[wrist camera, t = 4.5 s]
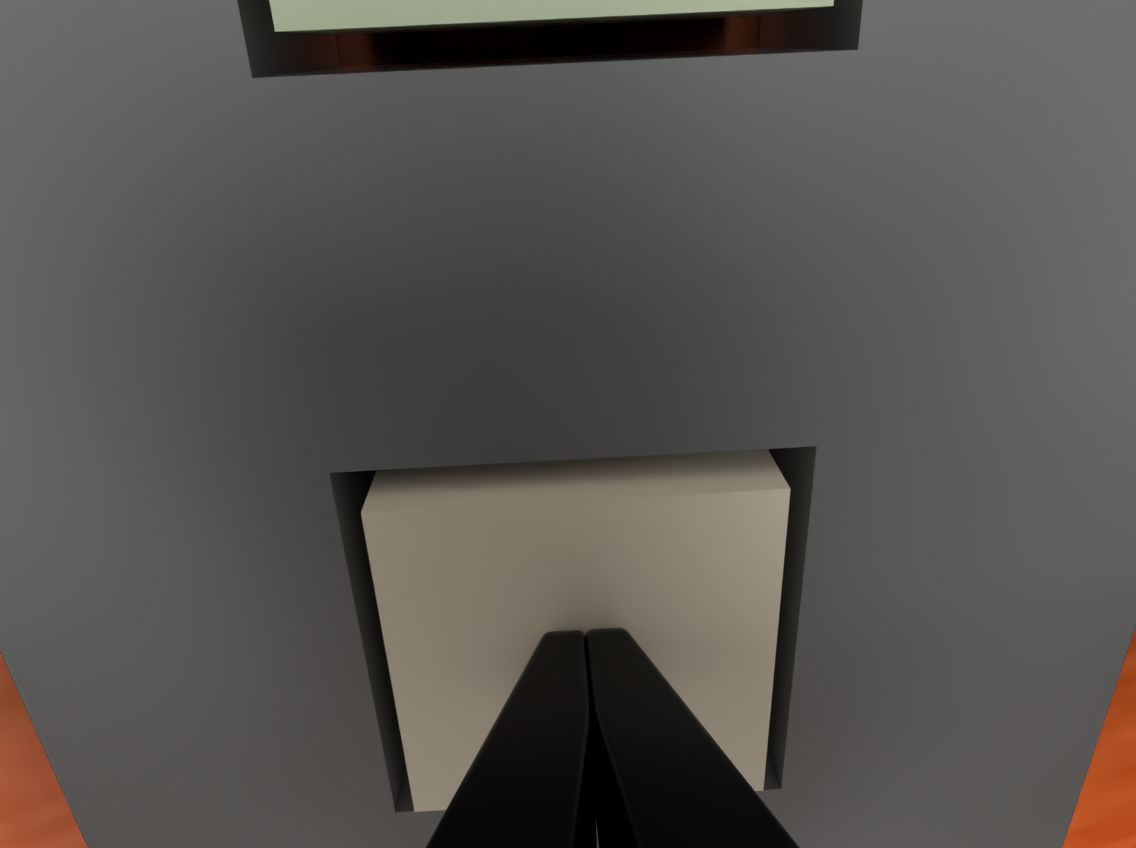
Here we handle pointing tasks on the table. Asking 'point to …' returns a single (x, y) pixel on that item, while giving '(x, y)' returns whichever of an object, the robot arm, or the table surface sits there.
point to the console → (566, 386)
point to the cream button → (576, 589)
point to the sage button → (503, 13)
